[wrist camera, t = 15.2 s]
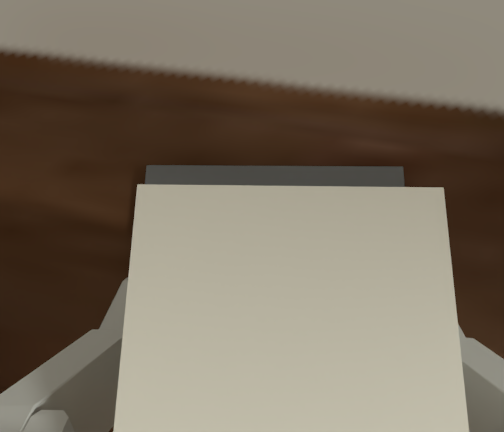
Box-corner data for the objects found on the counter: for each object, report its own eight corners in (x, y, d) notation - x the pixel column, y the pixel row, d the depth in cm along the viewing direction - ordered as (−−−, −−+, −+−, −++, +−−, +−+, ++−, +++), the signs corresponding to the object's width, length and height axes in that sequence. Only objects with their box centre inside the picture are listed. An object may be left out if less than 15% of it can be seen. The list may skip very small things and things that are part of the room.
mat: (397, 172, 19) (403, 166, 18) (422, 506, 15) (431, 516, 14) (151, 171, 19) (146, 165, 18) (123, 495, 16) (116, 504, 15)
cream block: (324, 269, 15) (443, 187, 5) (326, 381, 14) (481, 553, 4) (219, 267, 15) (137, 184, 5) (215, 379, 14) (103, 537, 4)
